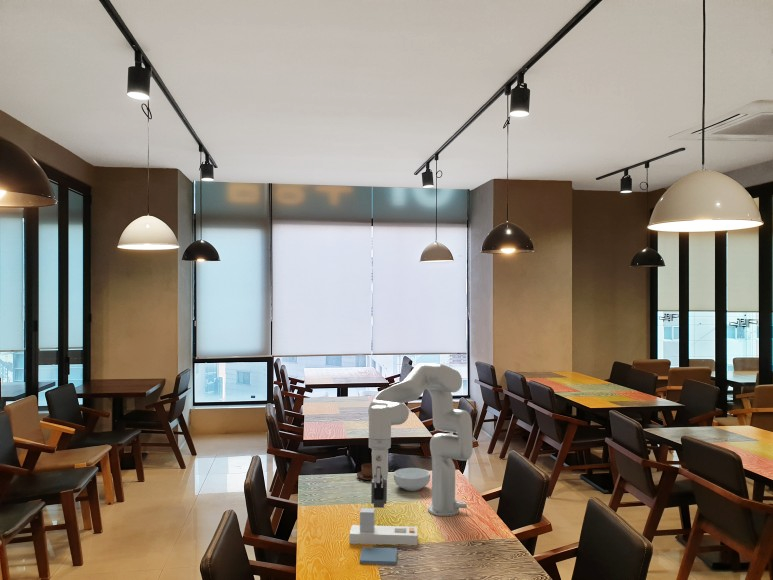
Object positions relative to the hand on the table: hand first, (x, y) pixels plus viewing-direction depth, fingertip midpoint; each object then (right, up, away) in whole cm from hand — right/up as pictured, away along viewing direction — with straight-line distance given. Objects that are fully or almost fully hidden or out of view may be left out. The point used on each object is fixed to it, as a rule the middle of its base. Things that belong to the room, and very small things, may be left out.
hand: (379, 496), depth 196 cm
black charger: (0, -3, 0) cm, 3 cm away
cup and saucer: (-6, -22, +86) cm, 89 cm away
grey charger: (-4, -18, +14) cm, 24 cm away
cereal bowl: (+14, -22, +71) cm, 76 cm away
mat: (0, -20, 0) cm, 20 cm away
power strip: (+1, -21, +14) cm, 25 cm away
